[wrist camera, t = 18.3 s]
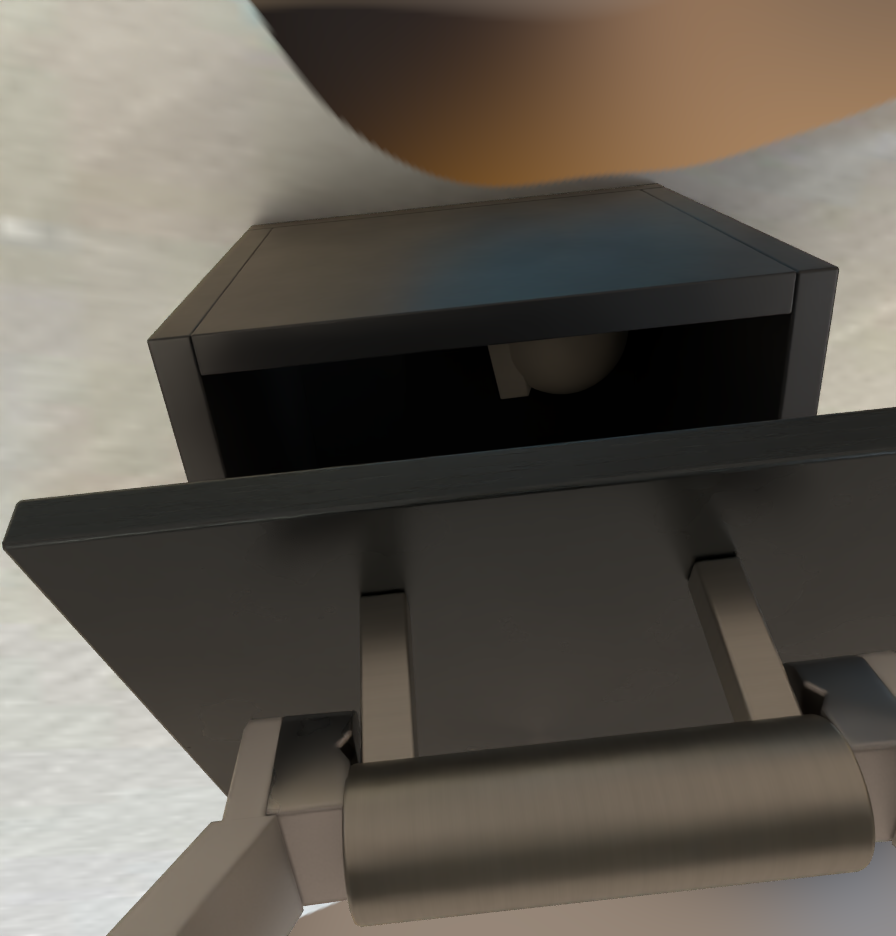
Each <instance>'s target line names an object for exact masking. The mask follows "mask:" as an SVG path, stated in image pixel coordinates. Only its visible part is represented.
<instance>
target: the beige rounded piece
mask: <svg viewBox="0 0 896 936" xmlns="http://www.w3.org/2000/svg"><path fill="white" fill-rule="evenodd" d="M627 337H628V331H620V332H611V333H601V334H592V335H582V336H573V337H563V338H554V339H544V340H535V341H525V342H516V343H506V344H497V345H488V349H489V354H490V358H491V362H492V366H493V370H494V374H495V378H496V382H497V386H498V390H499V394H500V398H501V399H508V398H516V397H524V396H528V395H529V393H530V390H531V387H532V388H534V389H536V390H539V391H542V392H546V393H551V394H571V393H576V392H579V391H582V390H585V389H587V388H589V387H592V386H594V385H595V384H597V383H598V382H600V381H601V380H602V379H604V378H605V377H606V376H607V375H608V374H609V373H610V372H611V371H612V370H613V369H614V367H615V366H616V364H617V363H618V361H619V360H620V358H621V356H622V354H623V351H624V349H625V346H626V342H627Z"/></svg>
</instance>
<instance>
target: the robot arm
mask: <svg viewBox="0 0 896 936" xmlns="http://www.w3.org/2000/svg"><path fill="white" fill-rule="evenodd" d="M783 666H784V669H785V671H786V674H787V676H788V679H789V681H790V684H791V686H792V689H793V691H794V694H795V696H796V699H797V701H798V703H799V706H800V708H801V711H802V713H803V715H805V714H816V715H819V716H822V717H824V718H825V719H827V720H828V721H830V722H831V723H832V724H833V725H834V726H835V727H836V728H837V729H838V730H839V731H840V733H841V734H842V735H843V737H844V738H845V740H846V741H847V743H848V745H849V746H850V748H851V750H852V752H853V754H854V756H855V758H856V760H857V762H858V764H859V767H860V769H861V771H862V774H863V777H864V780H865V783H866V785H867V789H868V792H869V796H870V800H871V805H872V809H873V815H874V823H875V842H882V841H892V845H894V846H895V847H896V653H895V652H894V651H892V650H888V651H880V652H872V653H863V654H855V655H854V656H852V655H847V656H838V657H830V658H822V659H813V660H805V661H796V662H788V663H784V664H783ZM360 737H361V728H360V723H359V719H358V715H357V712H356V711H355V710H352V711H340V712H328V713H316V714H304V715H292V716H285V717H278V718H265V719H253V720H249V722H248V723H247V725H246V727H245V728H244V731H243V735H242V739H241V743H240V748H239V752H238V756H237V760H236V764H235V769H234V773H233V777H232V781H231V785H230V790H229V794H228V798H227V802H226V806H225V810H224V815H223V819H222V821H215V822H211V823H210V824H209V825H208V826H207V827H206V828H205V829H204V830H203V831H202V833H201V834H200V835H199V836H198V837H197V838H196V839H195V840H194V841H193V842H192V843H191V844H190V845H189V847H188V848H187V849H186V850H185V851H184V852H183V853H182V854H181V855H180V856H179V857H178V858H177V860H176V861H175V862H174V863H173V864H172V865H171V866H170V867H169V868H168V869H167V870H166V871H165V873H164V874H163V875H162V876H161V877H160V878H159V879H158V880H157V881H156V882H155V883H154V884H153V886H152V887H151V888H150V889H149V890H148V891H147V892H146V893H145V894H144V895H143V896H142V897H141V899H140V900H139V901H138V902H137V903H136V904H135V905H134V906H133V907H132V908H131V909H130V910H129V912H128V913H127V914H126V915H125V916H124V917H123V918H122V919H121V920H120V921H119V922H118V923H117V925H116V926H115V927H114V928H113V929H112V930H111V931H110V932H109V933H108V934H107V935H106V936H288V935H289V934H290V932H291V930H292V929H293V927H294V926H295V924H296V922H297V921H298V919H299V917H300V916H301V914H302V912H303V911H304V909H303V906H308V905H315V904H322V903H329V902H336V901H343V900H348V899H347V893H346V886H345V878H344V867H343V850H342V807H343V794H344V786H345V780H346V778H347V777H348V774H349V771H350V768H351V766H352V765H353V764H357V763H361V748H360Z"/></svg>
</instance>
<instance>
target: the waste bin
mask: <svg viewBox="0 0 896 936" xmlns="http://www.w3.org/2000/svg"><path fill="white" fill-rule="evenodd" d="M838 274H839V268H838V267H837V266H834V265H832V264H830V263H828V262H826V261H824V260H821V259H819V258H817V257H815V256H813V255H811V254H808V253H806V252H804V251H802V250H800V249H798V248H796V247H793V246H791V245H789V244H787V243H785V242H783V241H780V240H778V239H776V238H774V237H772V236H770V235H767V234H765V233H763V232H761V231H759V230H757V229H754V228H752V227H750V226H748V225H746V224H744V223H742V222H739V221H737V220H735V219H733V218H731V217H729V216H726V215H724V214H722V213H720V212H718V211H716V210H713V209H711V208H709V207H707V206H705V205H703V204H700V203H698V202H696V201H694V200H692V199H690V198H687V197H685V196H683V195H681V194H679V193H677V192H675V191H672V190H670V189H668V188H666V187H664V186H662V185H660V184H647V185H637V186H628V187H618V188H609V189H599V190H589V191H580V192H570V193H561V194H551V195H541V196H532V197H522V198H513V199H503V200H493V201H484V202H474V203H465V204H455V205H445V206H436V207H426V208H417V209H407V210H397V211H388V212H378V213H369V214H359V215H349V216H340V217H330V218H321V219H311V220H301V221H292V222H282V223H273V224H263V225H253V226H251V227H250V228H249V229H248V230H247V231H246V232H245V234H244V235H243V236H242V237H241V238H240V239H239V240H238V241H237V242H236V243H235V245H234V246H233V247H232V248H231V249H230V250H229V251H228V252H227V253H226V254H225V255H224V257H223V258H222V259H221V260H220V261H219V262H218V263H217V264H216V265H215V266H214V268H213V269H212V270H211V271H210V272H209V273H208V274H207V275H206V276H205V277H204V278H203V280H202V281H201V282H200V283H199V284H198V285H197V286H196V287H195V288H194V289H193V291H192V292H191V293H190V294H189V295H188V296H187V297H186V298H185V299H184V300H183V301H182V303H181V304H180V305H179V306H178V307H177V308H176V309H175V310H174V311H173V312H172V313H171V315H170V316H169V317H168V318H167V319H166V320H165V321H164V322H163V323H162V324H161V326H160V327H159V328H158V329H157V330H156V331H155V332H154V333H153V334H152V335H151V336H150V338H149V339H148V340H147V343H148V346H149V350H150V353H151V357H152V360H153V363H154V367H155V370H156V374H157V377H158V380H159V384H160V387H161V391H162V394H163V398H164V401H165V404H166V408H167V411H168V415H169V418H170V422H171V425H172V428H173V432H174V435H175V439H176V442H177V446H178V449H179V452H180V456H181V459H182V463H183V466H184V470H185V473H186V476H187V480H188V482H198V481H207V480H216V479H226V478H235V477H244V476H254V475H263V474H273V473H282V472H291V471H301V470H310V469H319V468H329V467H338V466H348V465H357V464H366V463H376V462H385V461H394V460H404V459H413V458H423V457H432V456H441V455H451V454H460V453H470V452H479V451H488V450H498V449H507V448H516V447H526V446H535V445H545V444H554V443H563V442H573V441H582V440H591V439H601V438H610V437H620V436H629V435H638V434H648V433H657V432H666V431H676V430H685V429H695V428H704V427H713V426H723V425H732V424H741V423H751V422H760V421H770V420H779V419H788V418H798V417H807V416H816V415H817V409H818V402H819V396H820V389H821V383H822V377H823V370H824V364H825V357H826V351H827V344H828V338H829V332H830V325H831V319H832V312H833V306H834V299H835V293H836V287H837V280H838ZM620 331H628V337H627V342H626V346H625V349H624V351H623V354H622V356H621V358H620V360H619V361H618V363H617V364H616V366H615V367H614V369H613V370H612V371H611V372H610V373H609V374H608V375H607V376H606V377H605V378H604V379H602V380H601V381H600V382H598V383H597V384H595V385H594V386H592V387H589V388H587V389H585V390H582V391H579V392H576V393H571V394H551V393H546V392H542V391H539V390H536V389H534V388H532V387H531V390H530V393H529V395H528V396H524V397H516V398H508V399H501V398H500V394H499V390H498V386H497V382H496V378H495V374H494V370H493V366H492V362H491V358H490V354H489V349H488V345H497V344H506V343H516V342H525V341H535V340H544V339H554V338H563V337H573V336H582V335H592V334H601V333H611V332H620Z"/></svg>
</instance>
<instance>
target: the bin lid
mask: <svg viewBox="0 0 896 936" xmlns="http://www.w3.org/2000/svg"><path fill="white" fill-rule="evenodd" d="M2 546H3V550H4V551H5V552H6V553H7V554H8V555H9V556H10V557H11V558H12V560H13V561H14V562H15V563H16V564H17V565H18V566H19V567H20V568H21V569H22V571H23V572H24V573H25V574H26V575H27V576H28V577H29V578H30V579H31V581H32V582H33V583H34V584H35V585H36V586H37V587H38V588H39V589H40V591H41V592H42V593H43V594H44V595H45V596H46V597H47V598H48V599H49V600H50V602H51V603H52V604H53V605H54V606H55V607H56V608H57V609H58V610H59V612H60V613H61V614H62V615H63V616H64V617H65V618H66V619H67V620H68V621H69V623H70V624H71V625H72V626H73V627H74V628H75V629H76V630H77V631H78V633H79V634H80V635H81V636H82V637H83V638H84V639H85V640H86V641H87V642H88V644H89V645H90V646H91V647H92V648H93V649H94V650H95V651H96V652H97V654H98V655H99V656H100V657H101V658H102V659H103V660H104V661H105V662H106V663H107V665H108V666H109V667H110V668H111V669H112V670H113V671H114V672H115V673H116V675H117V676H118V677H119V678H120V679H121V680H122V681H123V682H124V683H125V684H126V686H127V687H128V688H129V689H130V690H131V691H132V692H133V693H134V694H135V696H136V697H137V698H138V699H139V700H140V701H141V702H142V703H143V704H144V705H145V707H146V708H147V709H148V710H149V711H150V712H151V713H152V714H153V715H154V717H155V718H156V719H157V720H158V721H159V722H160V723H161V724H162V725H163V726H164V728H165V729H166V730H167V731H168V732H169V733H170V734H171V735H172V736H173V738H174V739H175V740H176V741H177V742H178V743H179V744H180V745H181V746H182V747H183V749H184V750H185V751H186V752H187V753H188V754H189V755H190V756H191V757H192V759H193V760H194V761H195V762H196V763H197V764H198V765H199V766H200V767H201V768H202V770H203V771H204V772H205V773H206V774H207V775H208V776H209V777H210V778H211V780H212V781H213V782H214V783H215V784H216V785H217V786H218V787H219V788H220V790H221V791H222V792H223V793H224V794H225V795H226V796H227V797H228V794H229V790H230V785H231V781H232V777H233V773H234V769H235V764H236V760H237V756H238V752H239V748H240V743H241V739H242V735H243V731H244V728H245V727H246V725H247V723H248V722H249V720H253V719H265V718H278V717H285V716H292V715H304V714H316V713H328V712H340V711H352V710H355V711H356V712H357V715H358V719H359V723H360V728H361V737H360V748H361V763H357V764H353V765H352V766H351V768H350V771H349V774H348V777H347V778H346V780H345V786H344V794H343V807H342V850H343V867H344V878H345V886H346V893H347V899H348V904H349V908H350V912H351V915H352V918H353V920H354V922H355V924H356V925H358V926H361V927H364V926H372V925H382V924H391V923H400V922H408V921H417V920H427V919H435V918H445V917H454V916H463V915H472V914H480V913H489V912H499V911H508V910H517V909H525V908H534V907H543V906H553V905H561V904H570V903H580V902H588V901H598V900H606V899H616V898H624V897H633V896H641V895H642V896H643V895H651V894H661V893H669V892H678V891H688V890H696V889H705V888H715V887H723V886H733V885H742V884H750V883H759V882H768V881H777V880H786V879H795V878H804V877H813V876H822V875H831V874H840V873H849V872H858V871H860V870H862V869H864V868H865V867H866V866H867V865H868V864H869V863H870V861H871V859H872V856H873V853H874V847H875V823H874V815H873V809H872V805H871V800H870V796H869V792H868V789H867V785H866V783H865V780H864V777H863V774H862V771H861V769H860V767H859V764H858V762H857V760H856V758H855V756H854V754H853V752H852V750H851V748H850V746H849V745H848V743H847V741H846V740H845V738H844V737H843V735H842V734H841V733H840V731H839V730H838V729H837V728H836V727H835V726H834V725H833V724H832V723H831V722H830V721H828V720H827V719H825V718H824V717H822V716H819V715H816V714H805V715H803V713H802V711H801V708H800V706H799V703H798V701H797V699H796V696H795V694H794V691H793V689H792V686H791V684H790V681H789V679H788V676H787V674H786V671H785V669H784V666H783V664H784V663H788V662H796V661H805V660H813V659H822V658H830V657H838V656H847V655H852V656H854V655H855V654H863V653H872V652H880V651H888V650H892V651H894V652H895V653H896V407H892V408H882V409H873V410H863V411H854V412H845V413H835V414H826V415H816V416H807V417H798V418H788V419H779V420H770V421H760V422H751V423H741V424H732V425H723V426H713V427H704V428H695V429H685V430H676V431H666V432H657V433H648V434H638V435H629V436H620V437H610V438H601V439H591V440H582V441H573V442H563V443H554V444H545V445H535V446H526V447H516V448H507V449H498V450H488V451H479V452H470V453H460V454H451V455H441V456H432V457H423V458H413V459H404V460H394V461H385V462H376V463H366V464H357V465H348V466H338V467H329V468H319V469H310V470H301V471H291V472H282V473H273V474H263V475H254V476H244V477H235V478H226V479H216V480H207V481H198V482H188V483H179V484H169V485H160V486H151V487H141V488H132V489H123V490H113V491H104V492H94V493H85V494H76V495H66V496H57V497H48V498H38V499H29V500H22V501H19V502H18V503H17V504H16V506H15V509H14V512H13V515H12V517H11V520H10V523H9V526H8V528H7V531H6V534H5V537H4V539H3V542H2Z"/></svg>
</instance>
